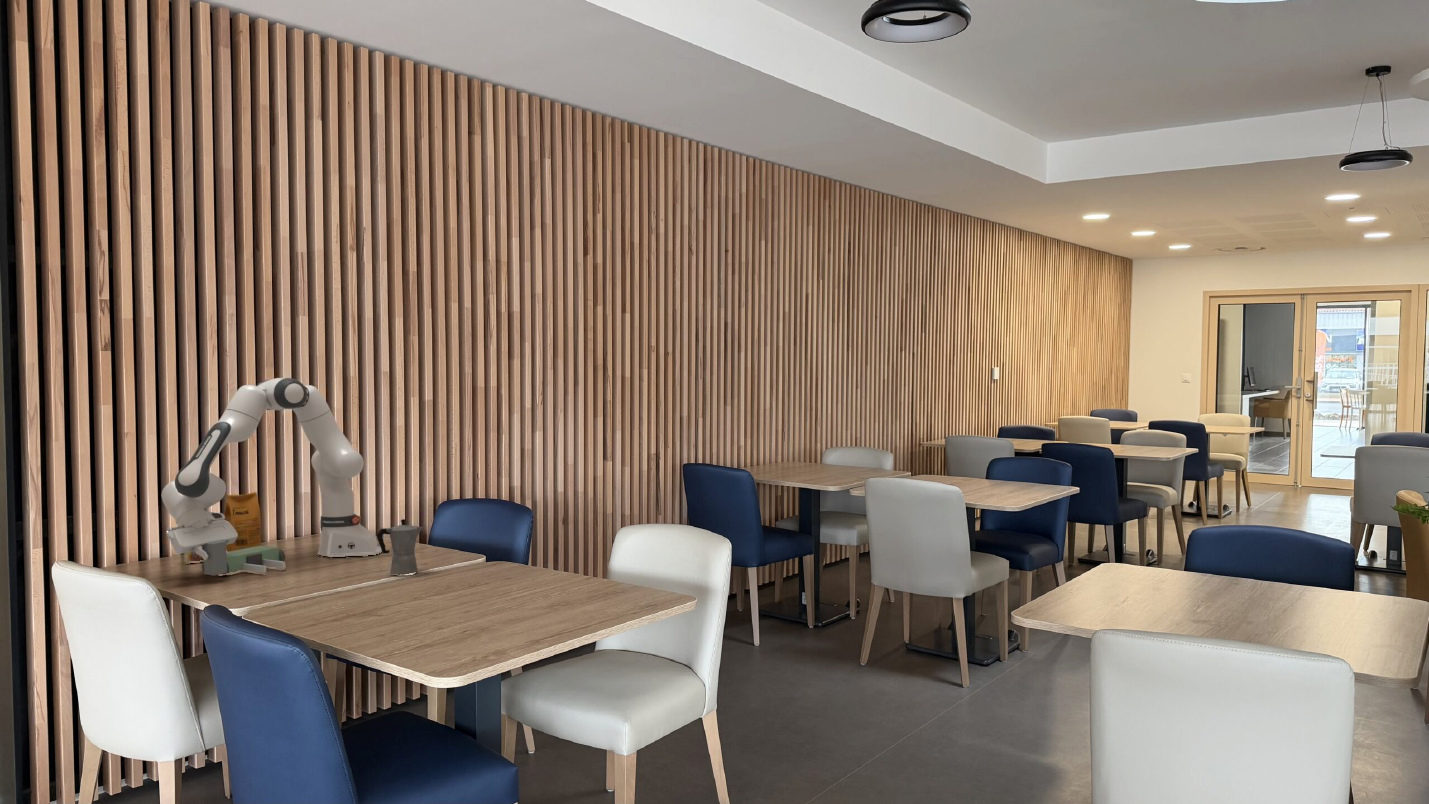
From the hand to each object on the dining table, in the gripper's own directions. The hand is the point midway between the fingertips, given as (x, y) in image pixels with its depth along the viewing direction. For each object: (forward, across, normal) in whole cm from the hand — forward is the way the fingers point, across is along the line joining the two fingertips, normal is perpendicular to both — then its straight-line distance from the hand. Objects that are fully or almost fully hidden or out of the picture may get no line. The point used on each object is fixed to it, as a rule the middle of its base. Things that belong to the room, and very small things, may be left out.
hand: (216, 556), depth 297 cm
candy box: (-18, +18, +29) cm, 39 cm away
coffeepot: (+38, +34, -25) cm, 56 cm away
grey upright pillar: (+3, 0, +4) cm, 5 cm away
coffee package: (-19, +36, +31) cm, 51 cm away
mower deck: (+3, +17, +9) cm, 19 cm away
